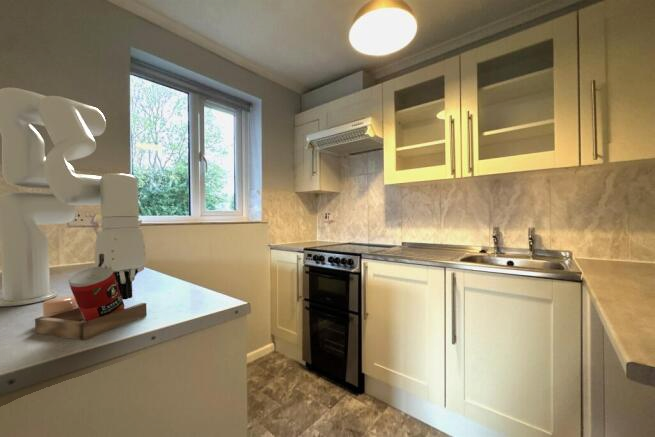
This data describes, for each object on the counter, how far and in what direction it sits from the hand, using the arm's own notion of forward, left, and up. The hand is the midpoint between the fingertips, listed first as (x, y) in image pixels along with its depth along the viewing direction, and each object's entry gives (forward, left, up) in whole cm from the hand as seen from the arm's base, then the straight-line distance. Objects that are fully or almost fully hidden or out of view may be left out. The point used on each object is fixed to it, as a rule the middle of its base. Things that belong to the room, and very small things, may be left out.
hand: (124, 298), depth 70 cm
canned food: (-1, -4, -3) cm, 5 cm away
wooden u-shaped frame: (-1, -6, -4) cm, 7 cm away
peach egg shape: (-11, -7, -4) cm, 14 cm away
